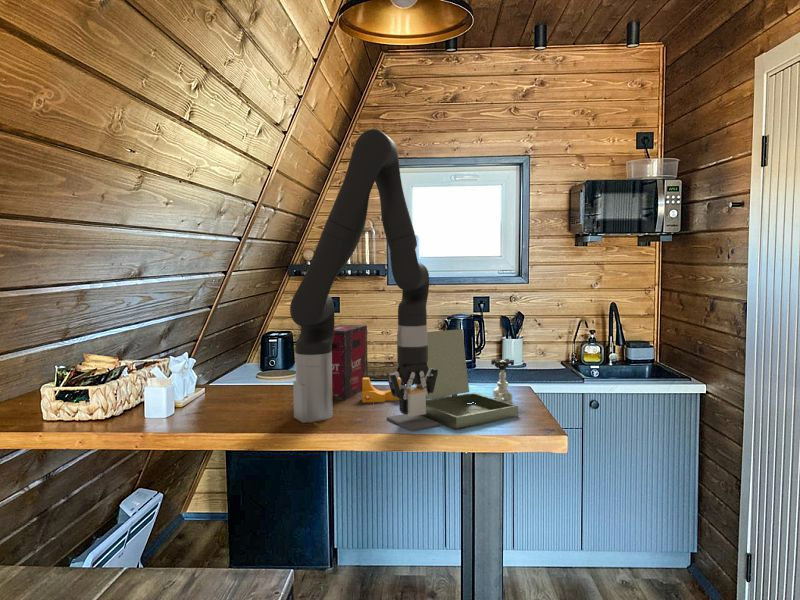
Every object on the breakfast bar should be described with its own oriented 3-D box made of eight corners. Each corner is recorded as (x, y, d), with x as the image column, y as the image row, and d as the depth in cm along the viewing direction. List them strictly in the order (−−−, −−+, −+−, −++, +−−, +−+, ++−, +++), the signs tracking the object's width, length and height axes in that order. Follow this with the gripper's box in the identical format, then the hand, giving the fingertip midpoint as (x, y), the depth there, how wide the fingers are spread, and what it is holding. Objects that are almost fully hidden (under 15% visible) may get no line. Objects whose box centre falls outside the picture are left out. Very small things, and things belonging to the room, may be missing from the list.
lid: (415, 333, 148) (412, 333, 149) (422, 399, 146) (418, 399, 148) (462, 329, 156) (458, 329, 157) (469, 392, 154) (465, 392, 156)
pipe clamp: (362, 403, 158) (361, 380, 158) (363, 399, 162) (363, 377, 162) (404, 402, 158) (404, 380, 158) (404, 399, 162) (404, 377, 162)
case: (456, 430, 131) (456, 383, 130) (407, 410, 149) (407, 369, 149) (518, 417, 141) (518, 374, 140) (465, 400, 159) (465, 362, 159)
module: (410, 416, 134) (410, 392, 134) (400, 412, 138) (400, 388, 137) (426, 413, 136) (425, 389, 136) (415, 410, 140) (415, 386, 140)
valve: (495, 406, 153) (495, 362, 152) (487, 400, 159) (487, 358, 159) (518, 405, 154) (518, 362, 153) (509, 399, 160) (509, 358, 160)
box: (342, 386, 180) (341, 324, 178) (367, 388, 177) (367, 325, 176) (318, 397, 164) (316, 330, 163) (345, 400, 161) (344, 331, 160)
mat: (412, 431, 130) (412, 428, 130) (386, 419, 140) (386, 417, 140) (440, 425, 134) (440, 423, 134) (413, 414, 144) (413, 412, 144)
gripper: (395, 347, 129) (396, 420, 130) (445, 342, 137) (445, 411, 138) (379, 344, 136) (380, 413, 137) (427, 339, 143) (428, 405, 144)
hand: (413, 411), depth 137 cm, fingers closed on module, 4 cm apart
